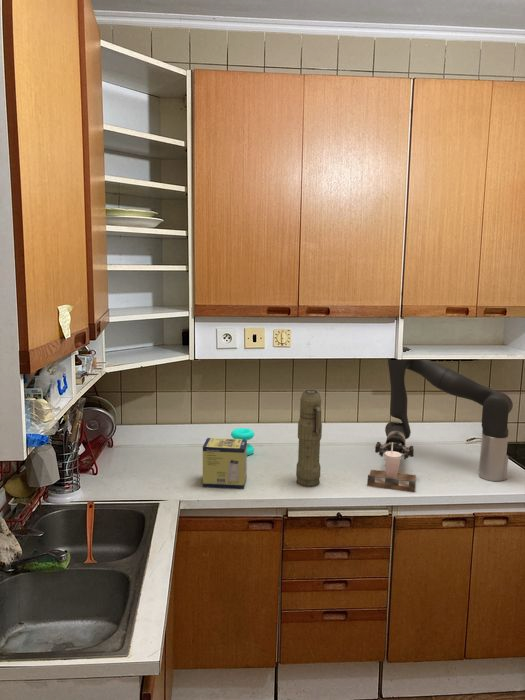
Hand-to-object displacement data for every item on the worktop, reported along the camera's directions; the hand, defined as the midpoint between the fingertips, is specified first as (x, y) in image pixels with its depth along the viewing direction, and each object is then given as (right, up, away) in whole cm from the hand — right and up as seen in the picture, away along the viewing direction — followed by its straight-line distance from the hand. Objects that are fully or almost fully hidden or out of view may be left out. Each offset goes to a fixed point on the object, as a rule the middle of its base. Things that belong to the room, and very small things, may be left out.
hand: (393, 455), depth 200 cm
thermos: (-32, -11, +1) cm, 34 cm away
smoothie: (0, -9, +3) cm, 10 cm away
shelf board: (0, -11, +3) cm, 11 cm away
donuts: (-58, -5, +31) cm, 66 cm away
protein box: (-63, -10, -1) cm, 64 cm away
